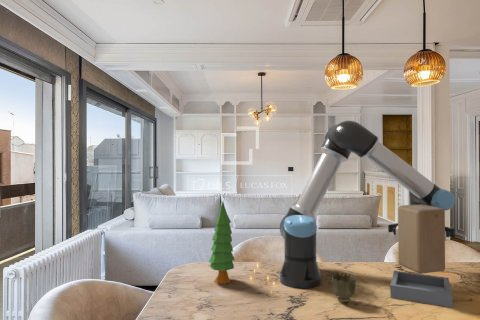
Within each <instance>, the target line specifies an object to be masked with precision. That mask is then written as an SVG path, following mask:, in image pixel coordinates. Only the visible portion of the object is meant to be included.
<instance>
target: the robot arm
mask: <svg viewBox="0 0 480 320" xmlns="http://www.w3.org/2000/svg"><path fill="white" fill-rule="evenodd" d="M320 150H321V155H320V157H319V159H318V161H317V163H316V165H315V167H314V169H313V170H312V172H311V173H310V174H311V175H310V177H309V179H308V180H307V182H306V185H305V186H304V188H303V190H302V192H301V194H300V196H299V198H298V199H297V202H296V204H293V205H290V207H289V209H288V211H287V213H286V214H285V215H284V216H283V218H282V219H281V220H280V223H279V232H280V235H281V236H282V239H283V240H284V243H283V245H284V246H283V247H284V249H283V250H284V258H283V259H284V260H283V264H282V267H281V270H280V272H279V282H280V283H281V284H282V285H285V286H288V287H292V288H297V289H310V288H315V287H319V286H320V285H322V282H323V281H322V273H321V271H320V268H319V265H318V262H317V229H318V226H317V222H316V221H317V218H316V213H317V211H318V209H319V207H320V205H321V204H322V202H323V199H324V197H325V195H326V194H327V191H328V190H329V188H330V186H331V184H332V182H333V180H334V178H335V176H336V174H337V172H338V170H339V168H340V167H341V165H342V163H344V162H347V161H348V159H349V157H350V155H351V153H353V154H355V155H356V156H358V157H360V158H361V159H363V158H365V159H367V160H368V161H369V163H372V164H373V165H374V166H376V167H377V168H378V169H379V170H381V171H382V172H383V173H385V174H386V175H388V176H389V177H390V178H391V179H393V180H394V181H396V183H398V184H399V185H401V187H403V188H405V189H406V190H407V191H408V193H409V194H408V196H409V205H418V204H423V205H428V206H433V207H438V208H442V209H444V211H445V212H446V211H449V210H450V209H452V208H453V206H454V205H455V201H456V199H455V196H454V194H453V193H452V192H451V191H450V190H447V189H443V188H441V187H439V186H438V185H437V184H436V183H434V182H432V181H431V180H430V179H428V178H427V176H425V175H423V174H422V173H420V172H419V171H418V170H417V169H415V168H414V167H413V166H411V165H410V164H409V163H407V162H406V161H405V160H404V159H402V158H400V157H399V155H397V154H395V152H394V151H392V150H391V149H389V148H388V147H386V146H385V145H384V144H382V143H381V142H380V141H379V137H378V136H377V135H375V133H373V132H371V131H370V130H369V129H367V128H366V127H365V126H363V125H362V124H361V123H359V122H356V121H354V120H344V121H341V122H339V123H338V124H335V125H333V126H331V127H330V128H329V129H328V130H327V132H326V133H325V136H324V141H323V143H322V145H321V147H320ZM387 227H388V228H387V229H388V231H387V232H388V233H393V235H394V236H395V238H398V222H397V223H396V222H395V223H391V224H387ZM450 237H452V238H455V237H456V229H454V228H451V227H449V226H445V242H447V238H450Z"/></svg>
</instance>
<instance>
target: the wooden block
mask: <svg viewBox="0 0 480 320" xmlns="http://www.w3.org/2000/svg"><path fill="white" fill-rule="evenodd" d="M445 213H446V211H444V209H442V208H438V207H433V206H428V205H423V204H418V205H410V204H406V205H404V204H403V205H399V206H398V208H397V223H398V237H397V239H398V242H397V243H398V247H397V248H398V252H397V253H398V254H397V255H398V264H399V266H402V267H404V268H406V269H408V270H410V271H411V272H413V273H414V272H415V273H416V274H429V273H431V274H432V273H438V272H444V271H445V270H446V241H445V227H446V224H445V223H446V220H445V219H446V214H445Z"/></svg>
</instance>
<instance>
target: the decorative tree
mask: <svg viewBox="0 0 480 320" xmlns="http://www.w3.org/2000/svg"><path fill="white" fill-rule="evenodd" d="M231 223H232V221H231V219H230V217H229V215H228V213H227V210H226V207H225V203H224V201H222V202H221V205H220V207H219V213H218V216H217V219H216V222H215V226H214V234H213V237H212V239H211V240H212V241H213V244H212V246H211V249H210V250H211V251H212V253H211V256H210V258H209V261H208V262H210V266H209V267H210V268H211V269H212V270H213V271H218V275H217V277H215V280H214V281H213V282H214V283H215V284H220V285H226V284H229V283H231V279H230V277H229V274H228V271H229V270H234V269H235V268H234V267H235V265H234V262H233V261H235V257H234V255H233V253H232V252H234V250H233V245H232V241H233V239H232V232H233V231H232V229H231Z"/></svg>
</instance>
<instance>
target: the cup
mask: <svg viewBox="0 0 480 320" xmlns="http://www.w3.org/2000/svg"><path fill="white" fill-rule="evenodd" d="M331 283H332V290H333V292H334V295H335V296H336V297H337V301H338V302H339V303H340V304H345V305H346V304H349V303H350V302H351V298H353V296H354V295H355V292H356V285H357V276H356V275H353V274H350V273H348V274H347V273H346V272H345V273H343V272H341V273H340V274H339V272H335V273H332V276H331Z"/></svg>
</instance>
